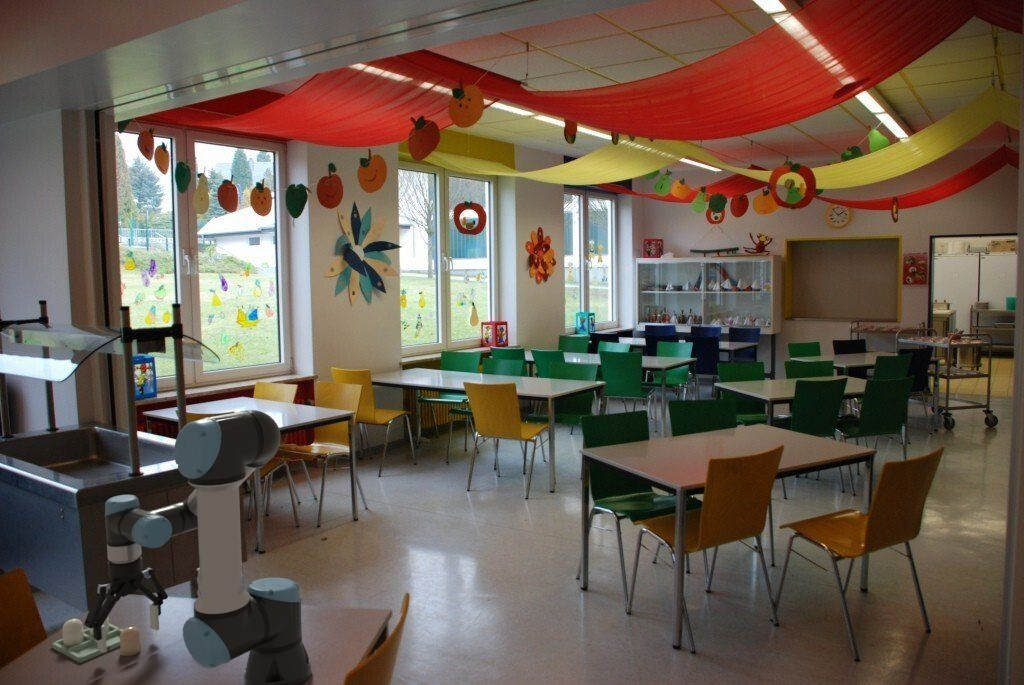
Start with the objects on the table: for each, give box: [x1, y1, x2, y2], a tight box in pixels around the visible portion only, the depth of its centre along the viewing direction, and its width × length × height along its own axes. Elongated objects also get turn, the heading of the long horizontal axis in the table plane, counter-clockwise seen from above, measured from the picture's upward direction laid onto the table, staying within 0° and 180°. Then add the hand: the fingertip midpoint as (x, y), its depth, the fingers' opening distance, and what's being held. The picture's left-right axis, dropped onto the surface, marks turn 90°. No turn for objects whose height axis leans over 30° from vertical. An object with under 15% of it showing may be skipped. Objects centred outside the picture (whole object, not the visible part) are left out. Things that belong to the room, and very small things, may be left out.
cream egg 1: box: [61, 618, 84, 649], centre depth 198 cm, size 5×5×7 cm
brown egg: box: [119, 626, 142, 657], centre depth 195 cm, size 5×5×7 cm
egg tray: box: [50, 622, 124, 664], centre depth 199 cm, size 14×14×2 cm
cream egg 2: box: [88, 615, 110, 638], centre depth 204 cm, size 5×5×7 cm
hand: (129, 639), depth 195 cm, fingers open, 13 cm apart
